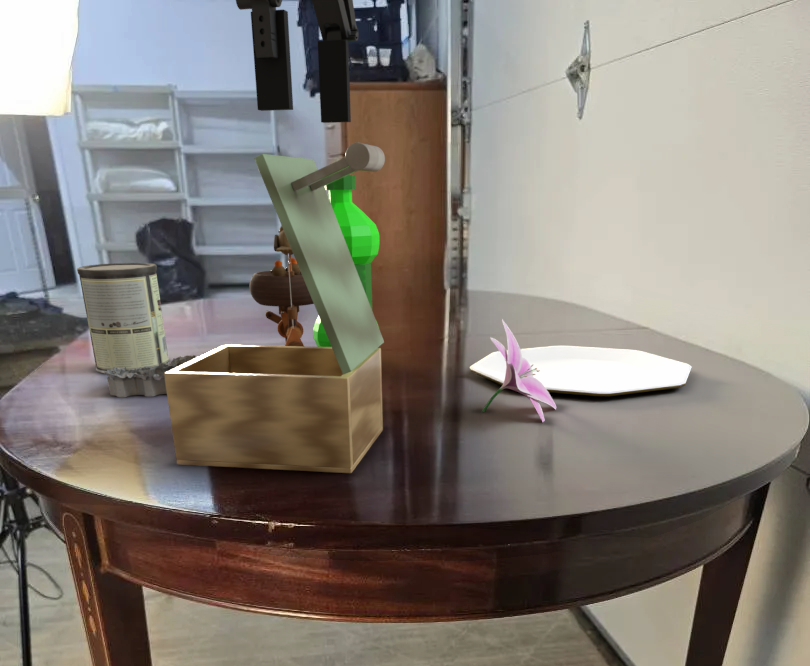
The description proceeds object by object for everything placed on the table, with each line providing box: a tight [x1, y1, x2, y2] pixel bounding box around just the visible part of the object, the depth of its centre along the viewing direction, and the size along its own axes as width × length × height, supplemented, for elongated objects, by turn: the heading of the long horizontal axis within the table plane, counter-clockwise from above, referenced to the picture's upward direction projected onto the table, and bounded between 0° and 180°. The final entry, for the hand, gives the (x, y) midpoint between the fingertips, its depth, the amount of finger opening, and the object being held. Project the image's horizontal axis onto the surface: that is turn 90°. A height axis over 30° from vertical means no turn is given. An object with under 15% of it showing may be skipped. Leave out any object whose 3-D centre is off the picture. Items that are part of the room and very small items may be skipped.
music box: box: [249, 225, 314, 346], centre depth 97 cm, size 15×11×20 cm
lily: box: [481, 319, 557, 423], centre depth 84 cm, size 12×12×10 cm
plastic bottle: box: [312, 174, 381, 347], centre depth 111 cm, size 10×10×25 cm
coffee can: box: [76, 262, 170, 374], centre depth 108 cm, size 10×10×14 cm
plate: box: [469, 345, 693, 397], centre depth 103 cm, size 28×28×2 cm
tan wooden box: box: [164, 344, 384, 474], centre depth 74 cm, size 17×14×9 cm
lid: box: [253, 141, 386, 374], centre depth 67 cm, size 18×14×8 cm
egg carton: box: [104, 354, 197, 398], centre depth 97 cm, size 11×8×4 cm
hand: (308, 117), depth 67 cm, fingers open, 13 cm apart
